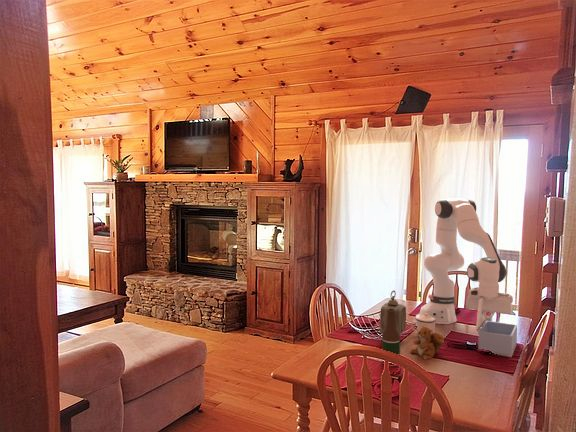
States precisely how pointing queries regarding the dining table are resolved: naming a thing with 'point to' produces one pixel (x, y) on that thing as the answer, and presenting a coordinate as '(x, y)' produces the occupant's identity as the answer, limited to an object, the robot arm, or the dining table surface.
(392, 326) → the beer bottle
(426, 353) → the stuffed squirrel
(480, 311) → the lid
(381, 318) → the brown cowbell
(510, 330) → the box
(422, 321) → the teacup with lid
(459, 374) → the dining table surface
